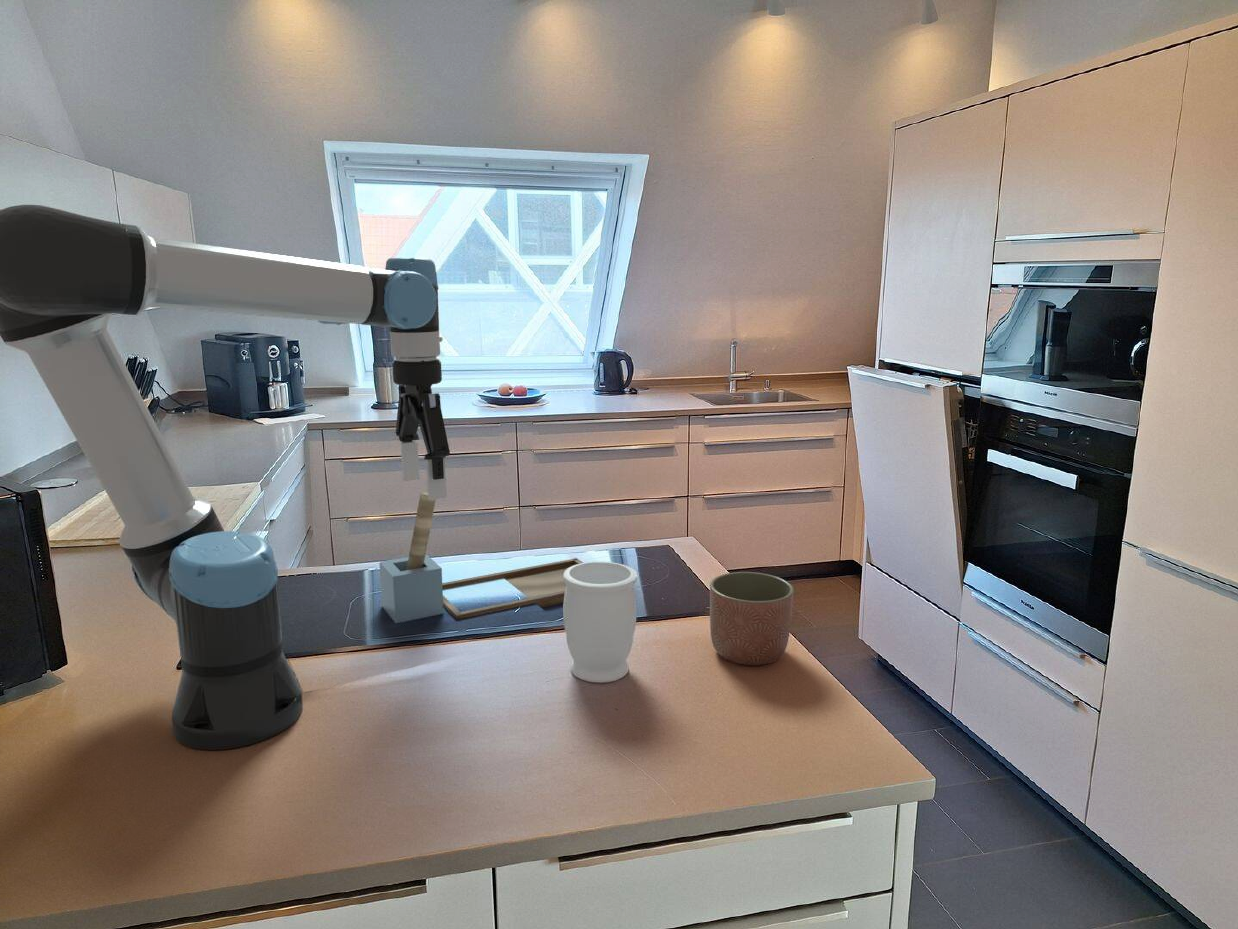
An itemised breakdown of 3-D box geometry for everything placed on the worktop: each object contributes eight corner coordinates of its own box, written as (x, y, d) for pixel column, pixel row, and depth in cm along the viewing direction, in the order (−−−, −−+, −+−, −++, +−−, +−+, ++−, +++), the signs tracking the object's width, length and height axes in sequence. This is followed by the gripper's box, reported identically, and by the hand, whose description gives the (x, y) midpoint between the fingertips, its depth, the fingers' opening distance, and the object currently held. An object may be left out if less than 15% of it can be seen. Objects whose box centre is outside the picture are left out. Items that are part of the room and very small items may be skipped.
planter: (742, 680, 117) (745, 608, 114) (691, 646, 127) (693, 580, 124) (807, 660, 123) (811, 592, 120) (753, 630, 133) (757, 566, 131)
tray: (615, 591, 149) (615, 582, 148) (456, 625, 134) (456, 615, 133) (576, 566, 161) (576, 558, 161) (427, 595, 146) (427, 586, 146)
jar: (650, 670, 119) (652, 572, 116) (600, 695, 112) (601, 592, 108) (598, 647, 126) (598, 555, 123) (548, 670, 119) (547, 572, 115)
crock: (443, 619, 136) (441, 568, 134) (395, 629, 132) (392, 576, 130) (428, 603, 143) (426, 554, 141) (382, 612, 139) (379, 561, 137)
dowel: (443, 608, 138) (438, 493, 134) (401, 616, 135) (395, 499, 130) (437, 603, 141) (433, 490, 136) (397, 611, 137) (391, 495, 133)
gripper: (467, 364, 121) (473, 503, 125) (415, 350, 141) (422, 470, 146) (417, 367, 117) (425, 510, 122) (371, 352, 138) (380, 475, 143)
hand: (423, 488), depth 134 cm, fingers open, 13 cm apart
